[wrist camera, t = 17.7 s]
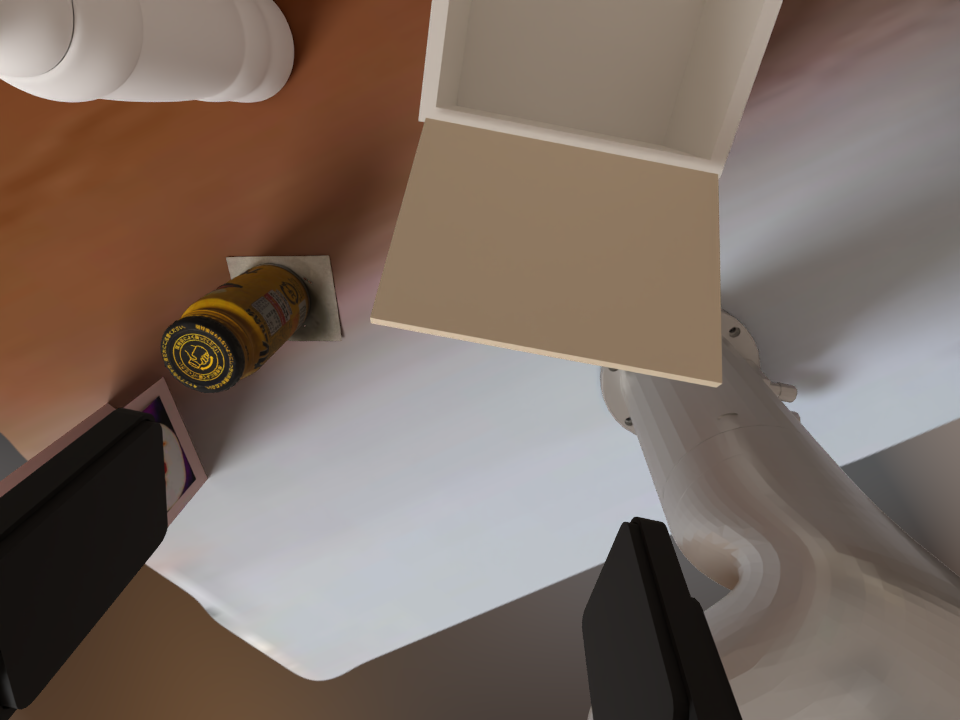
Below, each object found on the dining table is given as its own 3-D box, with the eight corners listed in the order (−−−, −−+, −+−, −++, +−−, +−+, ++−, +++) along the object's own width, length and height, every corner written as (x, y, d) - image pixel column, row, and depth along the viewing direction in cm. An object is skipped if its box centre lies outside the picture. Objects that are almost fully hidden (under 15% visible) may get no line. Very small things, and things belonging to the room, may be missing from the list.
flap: (722, 383, 23) (716, 387, 23) (718, 174, 27) (713, 181, 28) (370, 317, 22) (371, 323, 23) (425, 117, 27) (425, 125, 28)
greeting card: (215, 478, 53) (113, 605, 40) (147, 483, 54) (23, 610, 41) (172, 376, 49) (39, 481, 35) (97, 383, 50) (-61, 489, 36)
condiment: (227, 256, 44) (130, 307, 33) (329, 254, 43) (266, 306, 32) (246, 339, 47) (164, 411, 36) (342, 339, 46) (288, 412, 35)
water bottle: (226, 116, 39) (-176, 135, 16) (176, 5, 36) (-394, -156, 14) (314, 83, 38) (9, 54, 15) (269, -35, 35) (-190, -285, 12)
